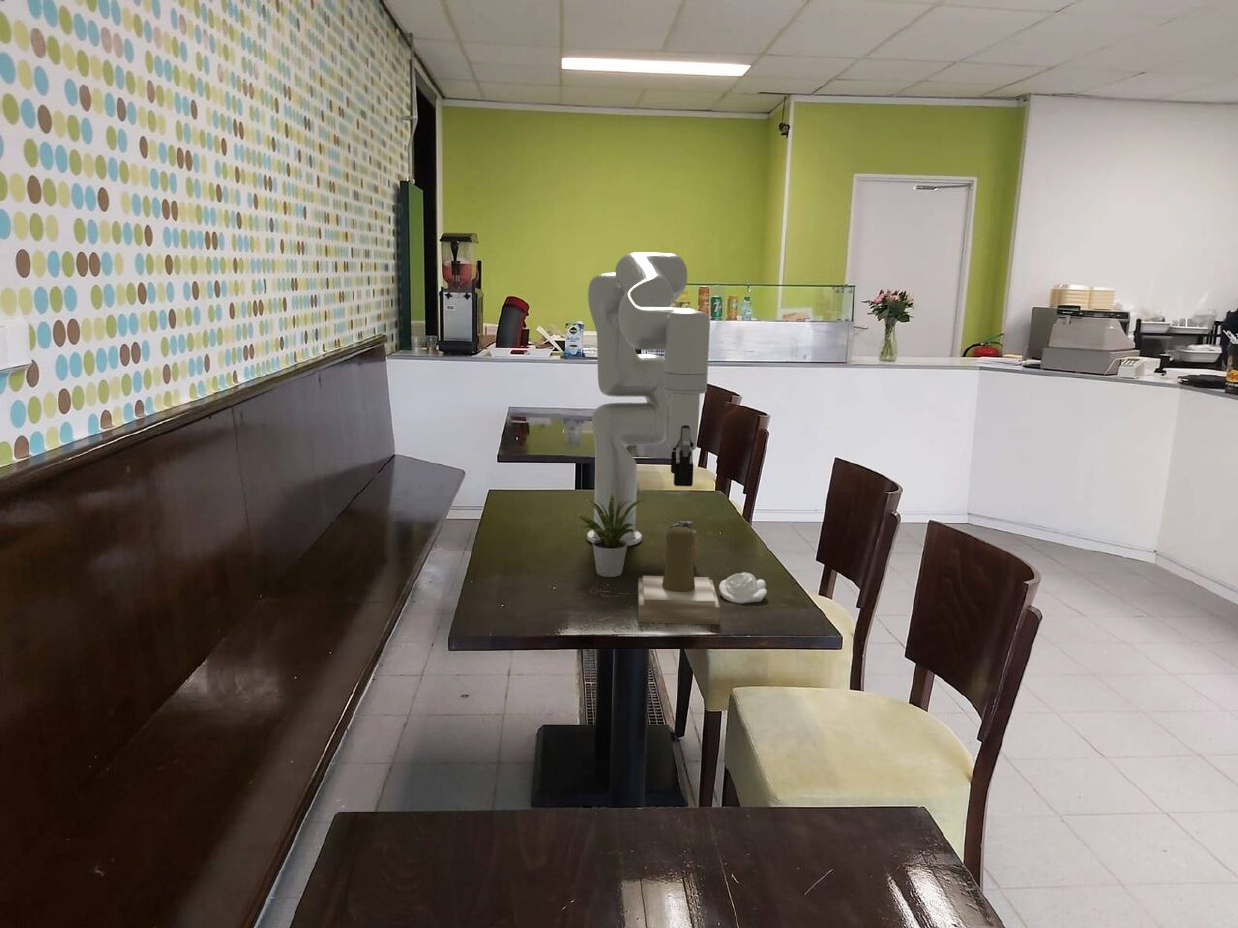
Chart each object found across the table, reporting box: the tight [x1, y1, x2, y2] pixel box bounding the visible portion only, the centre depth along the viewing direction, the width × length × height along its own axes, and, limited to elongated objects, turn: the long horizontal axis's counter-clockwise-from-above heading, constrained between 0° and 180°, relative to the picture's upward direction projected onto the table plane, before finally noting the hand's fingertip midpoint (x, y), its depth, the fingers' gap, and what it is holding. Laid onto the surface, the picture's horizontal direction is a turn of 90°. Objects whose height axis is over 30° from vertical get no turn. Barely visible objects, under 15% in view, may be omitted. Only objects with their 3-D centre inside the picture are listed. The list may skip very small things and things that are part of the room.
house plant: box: [573, 495, 647, 578], centre depth 175 cm, size 14×14×16 cm
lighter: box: [665, 520, 697, 568], centre depth 179 cm, size 8×3×10 cm, turn 135°
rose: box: [718, 571, 768, 604], centre depth 165 cm, size 10×4×10 cm
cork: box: [662, 527, 696, 592], centre depth 156 cm, size 6×6×11 cm
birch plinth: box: [637, 575, 721, 625], centre depth 157 cm, size 14×14×4 cm
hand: (681, 479), depth 153 cm, fingers open, 9 cm apart
